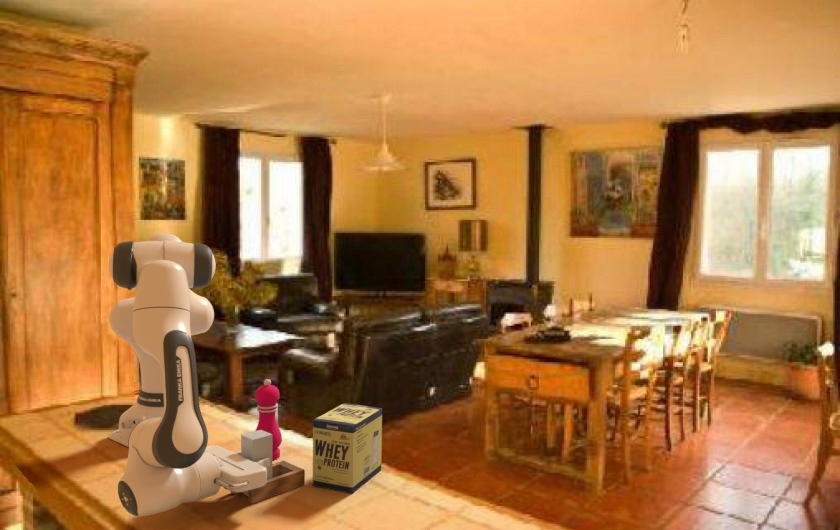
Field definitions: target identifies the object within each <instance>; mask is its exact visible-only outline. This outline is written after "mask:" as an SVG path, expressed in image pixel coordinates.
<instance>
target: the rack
mask: <svg viewBox="0 0 840 530" xmlns="http://www.w3.org/2000/svg"><path fill="white" fill-rule="evenodd" d="M305 473H306V470H305V469H304V468H301V467H299V466H297V465H295V464H292V463H290V462H288V461H286V460H281V461H278V462H274V463H272V478H271V479H268V480H267V483H266V484H265V485H264V486H263V487H259V488H256V489H252V490H248V496H247V497H248V499H247V501H248V503H249V504H251V505H253V504H255V503H259V502H261V501H263V499H264V500H266V499H265V498H267V499H269V498H268V497H270V498H272V497H275V496H277V495H276V494H278V495H280V494H279V493H281V494H283V493H286V492H288V490H289V491H291V489H292V490H294V488H295V489H297V488H299V487H302V486H306V484H305V483H306V482H305V481H306V480H305V476H306V475H305ZM285 491H286V492H285ZM282 492H283V493H282ZM230 493H231V494H232V493H233V494H232V495H237V494H240V493H241V492H232V491H230ZM274 495H275V496H274ZM271 496H272V497H271Z"/></svg>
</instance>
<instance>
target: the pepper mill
mask: <svg viewBox="0 0 840 530" xmlns="http://www.w3.org/2000/svg"><path fill="white" fill-rule="evenodd" d="M254 398H255V401H256V402H257V405H256V406H257V408H256V410H257V412H258V422H257V426H256V428H255V430H254V431H258V430H263V431H265V432H268V433H270V434H272V461H276V460H277V458H278V459H279V458H280V456H281V448H280V445H281V444H282V442H283V436H282V432H281V429H280V428H279V427H280V426H279V425H278V422H277V417H276V413H277V410H278V409H279V408H278V403H277V402H279V400H280V390H279V389H278V387H276V386H275V385H273V384H272V381H271V379H268V378H266V379H264V380H263V385H260V386H259V387H258V388H257V389H256V391H255V395H254ZM275 459H276V460H275Z"/></svg>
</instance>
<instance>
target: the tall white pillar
mask: <svg viewBox="0 0 840 530" xmlns="http://www.w3.org/2000/svg"><path fill="white" fill-rule="evenodd" d="M240 449H241V450H240V452H241V456H242V457H244V458H246V459H248V460H250V461H253V462H259V459H260V458H264V457H265V458H268V459H270V466H269V467H267V468H266V469H267V480H268V479H271V478H272V464H273V460H272V434H270V433H268V432H265V431H263V430H258V431H255V430H254V431H250V432H247V433H243V434H241V435H240ZM240 493H241V494H243V495H245V496H247V497H248V491H244V492H240Z"/></svg>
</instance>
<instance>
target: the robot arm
mask: <svg viewBox="0 0 840 530" xmlns="http://www.w3.org/2000/svg"><path fill="white" fill-rule="evenodd" d="M108 267H109V269H108V270H109V273H110V275H111V277H112V281H113V283H114V284H116V285H117V286H118V287H121V288H123V289H127V290H129V291H132V290H133V289H135V293H134V296H132V297H129V298H124V299H119V300H117V302H115V303H114V304H113V305H112V307H111V310H110V312H109V317H108V319H109V321H108V322H109V326H110V329H112V332H113V333H115V335H116V336H118V337H119V338H121V339H122V340H124V341H125V342H126V343H128V344H129V346H130V347H132V349H133V351H135V353H136V356H137V358H138V362H139V368H140V377H141V388H140V389H138V390H137V389H136V390H135V391H134V393H135V394H134V395H135V396H137V395H138V396H137V399H136V402H135V403H134V404H132V406H131V407H129V408H128V409H127V410H126V411H124V412H123V413H122V414H121V415H120V417H119V421H118V429H116V430H113V431H112V432H110V434H109V435H108V439H110V440H111V441H114V442H116V443H119V444H120V445H123V446H125V447H127V448H128V455H127V460H126V464H125V465H126V466H125V468H124V471H123V474H122V476H121V477H120V479H119V481H118V483H117V494H118V498H119V501H120V502H121V505H122V507H123V508H124V509H125V510H126V512H128V514H130V515H132V516H135V517H147V516H153V515H156V514H159V513H163V512H166V511H170V510H173V509H175V508H177V507H178V506H180V505H181V504H185V503H194V502H198V501H199V500H200V501H201V500H202V499H205V498H208V497H212V496H215V495H217V494H218V493H219V492H220V489H221V487H223V488H224V489H225V490H228V491H230V492H231V491H232V492H240V493H241V492H244V491H248V490H252V489H256V488H259V487H263V486H264V485H265V484H266V483H267V469H266V468H267V467H269V466H270V459H268V458H265V457H264V458H260V459H259V462H253V461H250V460H248V459H246V458H244V457H242V456H241V451H231V450H229V449H227V448H225V447H222V446H220V445H217V444H216V445H215V444H213V445H208V441H209V432H208V429H207V425H206V423H205V420H204V418H203V414H202V412H201V406H200V398H199V386H198V385H199V384H198V372H197V371H198V370H197V359H196V351H195V347H194V342H193V340H192V339H193V338H192V336H196V335H199V334H202V333H203V334H204V333H207V331H209V330H210V328H211V327H212V325H213V323H214V319H215V312H214V311H215V310H214V307H213V305H212V303H211V302H210V301H209V300H208V298H206V297H204V296H201V295H199V294H197V293H195V292H194V291H193V290H197V289H203V288H206V287H208V286H209V285H210V284H211V283H212V279H213V277H214V275H215V273H216V267H217V265H216V259H215V256H214V254H213V250H212V249H211V248H210V247H209V245H207V244H203V243H199V242H194V243H191V242H184V241H183V240H181V239H180V238H179V236H177V235H174V234H172V233H169V232H168V233H167V232H160V233H156V234H153V235H151V236H150V237H149V238H147V240H144V241H133V240H129V241H123V242H119V243H117V245H115V247H114V248H113V251H112V253H111V255H110V257H109V262H108ZM191 289H193V290H191Z"/></svg>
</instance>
